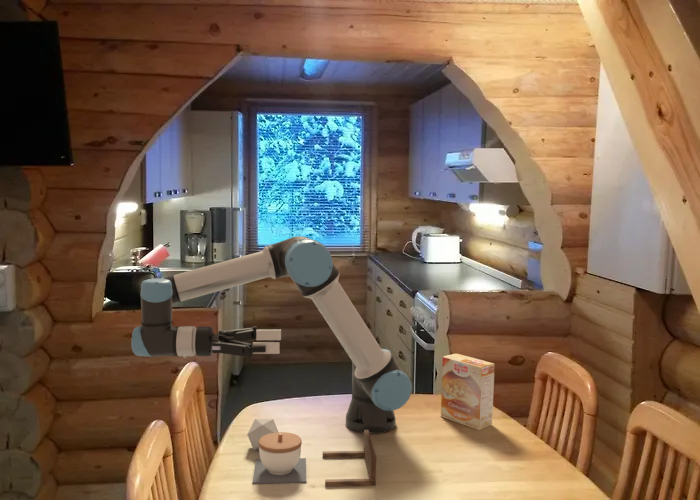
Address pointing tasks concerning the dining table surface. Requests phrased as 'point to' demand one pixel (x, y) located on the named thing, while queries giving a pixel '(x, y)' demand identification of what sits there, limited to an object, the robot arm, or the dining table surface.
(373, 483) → the shelf lane
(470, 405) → the coffeecake box
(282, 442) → the lidded jar
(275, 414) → the dining table surface
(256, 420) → the die
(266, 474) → the pad
